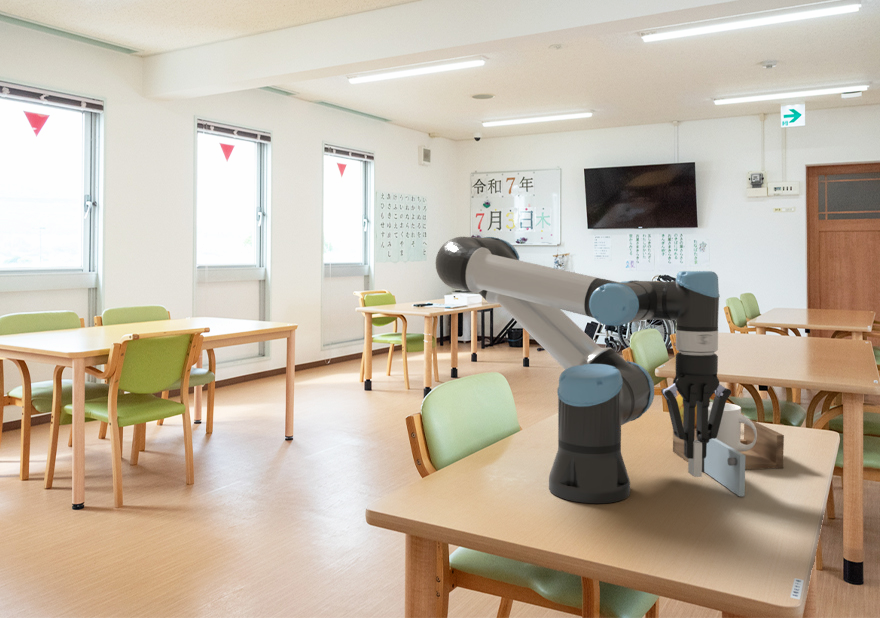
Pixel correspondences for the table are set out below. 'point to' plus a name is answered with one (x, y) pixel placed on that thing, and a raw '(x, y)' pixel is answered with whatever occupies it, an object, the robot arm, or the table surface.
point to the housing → (759, 456)
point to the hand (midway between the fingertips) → (694, 474)
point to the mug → (733, 427)
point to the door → (725, 466)
